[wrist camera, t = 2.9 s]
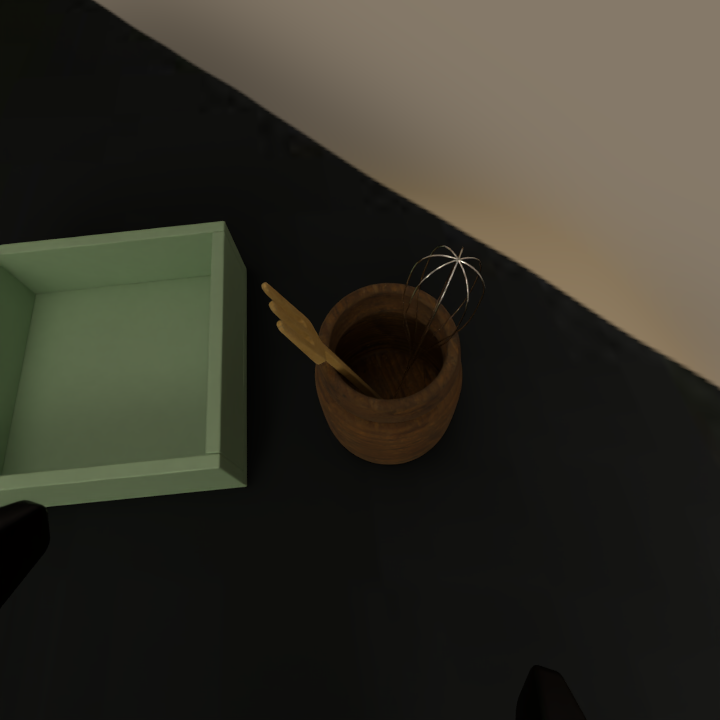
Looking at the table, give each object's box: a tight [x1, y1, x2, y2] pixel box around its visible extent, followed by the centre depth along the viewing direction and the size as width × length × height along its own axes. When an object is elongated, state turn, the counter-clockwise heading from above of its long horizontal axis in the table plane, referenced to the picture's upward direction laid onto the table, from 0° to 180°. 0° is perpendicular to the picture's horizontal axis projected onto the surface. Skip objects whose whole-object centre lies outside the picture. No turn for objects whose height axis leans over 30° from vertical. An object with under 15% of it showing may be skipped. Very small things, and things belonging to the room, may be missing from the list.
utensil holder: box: [261, 245, 485, 464], centre depth 19 cm, size 6×6×12 cm
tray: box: [0, 221, 247, 507], centre depth 24 cm, size 12×12×4 cm
